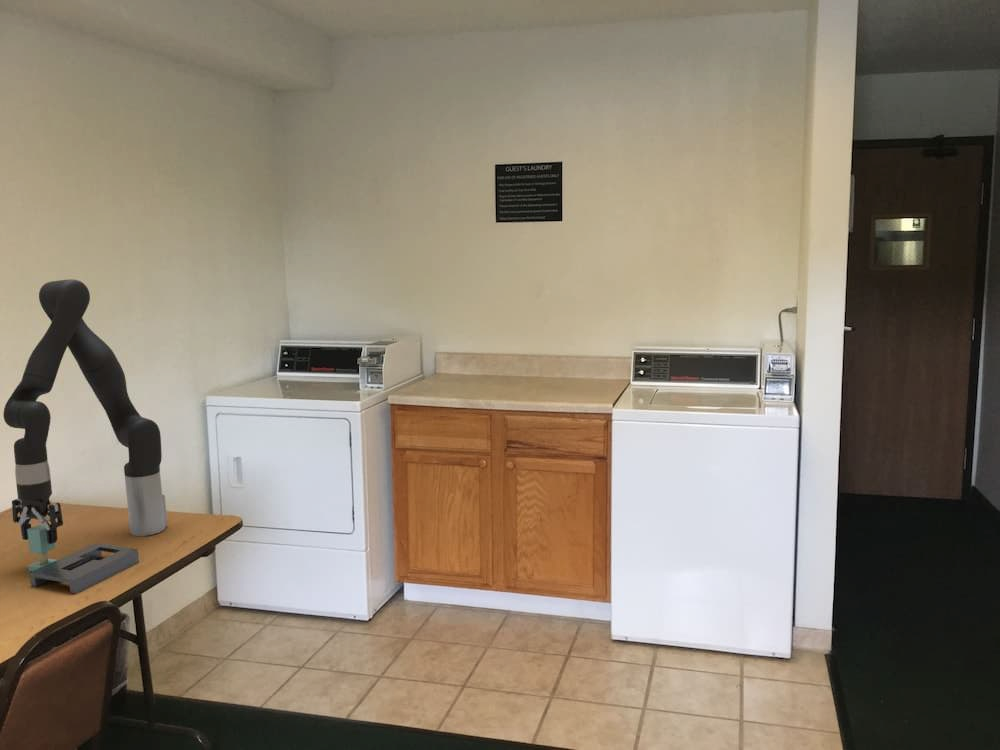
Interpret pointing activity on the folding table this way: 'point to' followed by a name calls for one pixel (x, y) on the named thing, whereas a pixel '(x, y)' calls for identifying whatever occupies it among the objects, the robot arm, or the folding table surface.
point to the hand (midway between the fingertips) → (39, 540)
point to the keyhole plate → (86, 566)
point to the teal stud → (39, 546)
